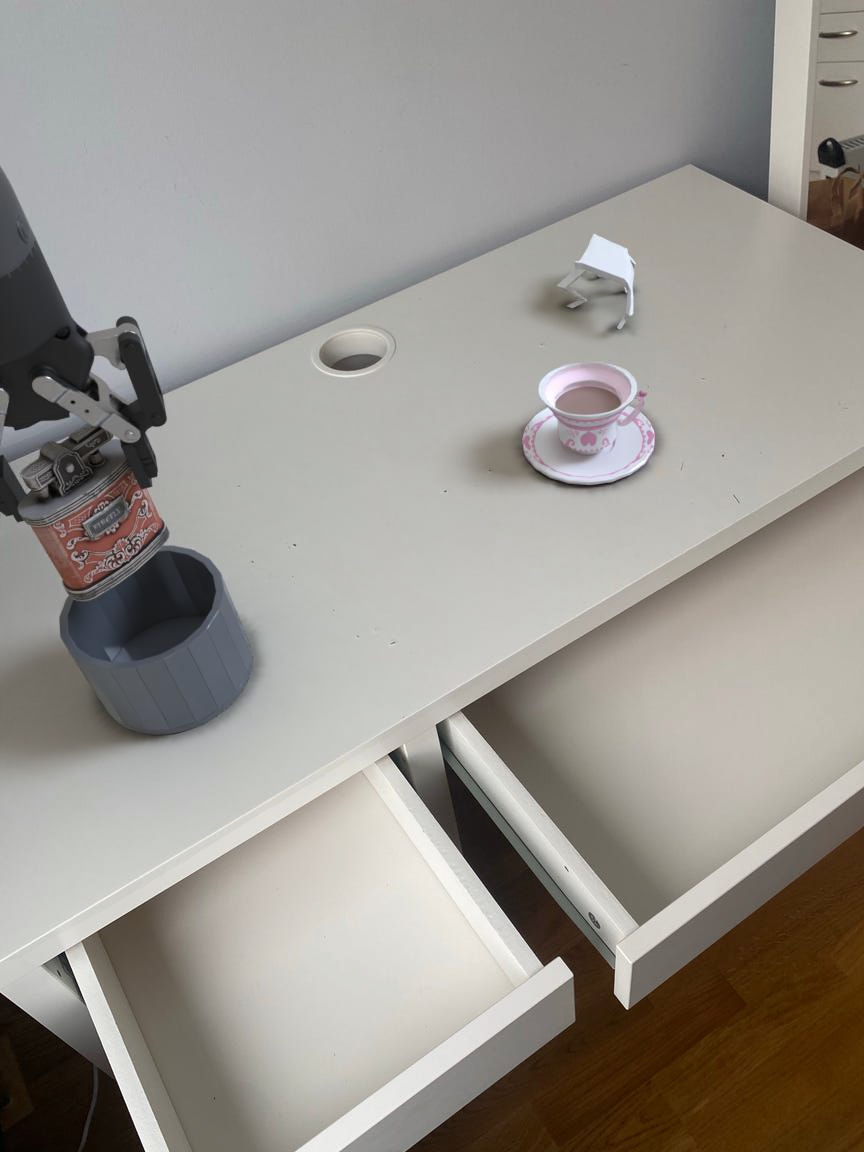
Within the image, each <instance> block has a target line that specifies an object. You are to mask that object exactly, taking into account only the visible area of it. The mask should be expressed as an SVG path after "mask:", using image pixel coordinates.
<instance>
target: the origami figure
mask: <svg viewBox="0 0 864 1152" xmlns="http://www.w3.org/2000/svg"><path fill="white" fill-rule="evenodd" d="M573 264H574V267H575V269H573V270H572V271H571V272H570V273H569V274H567V275H566V276H565V277H564V278H563V279H562V280H561V281H559V283H558V284H556V287H557V288H560V289H562V290H563V291H565V292H567V293H569V294H571V295H572V296H574V297H576V298H577V299H578V300H575V301H574V302H571V303H569V304H567V305H566V307H567V308H570V309H574V308H576V307H578V306H580V305H582V304H584V303H586V302H588V299H587V298H585V297H584V296H583V295H581V294H580V293H579V292H577V291H576V290H575V289H574V288H572V287H570V286H571V285H572V284H573V283H575V282H576V281H577V280H578V279H580V278H581V277H582V276H583V275H584V274H586V273H587V272H589V273H591V274H594V275H596V276H597V277H598V278H605V279H607V280H610V281H612V282H614V283H618V284H620V285H621V288H622V291H623V292H624V293H626V294H627V296H626V297H627V299H626V308H625V309H626V310H625V312H626V313H625V314H624V316H623V318H622V319H621V320H620V322H618V325H617V326H616V329H618V330H621V329H623V327H624V326H625V323H626V322H627V320H628V318H630V317H631V316H632V315H634V278H635V268H636V266H637V263H636V261H635V260H634V259H633V258H632V257H631V255H630V254H629V249H628V247H625V246H622V245H620V244H617V243H615V242H612V241H611V240H608V239H606V238H604V237H601V236H599V235H598V234H596V233H593V234H592V237H591V239H590V241H589V244H588V246H587V248H586V250H585V251H584V253H583V254H582V256H581V258H580V259H579V260H575V261H573ZM626 287H627V288H626Z"/></svg>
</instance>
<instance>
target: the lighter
mask: <svg viewBox="0 0 864 1152" xmlns="http://www.w3.org/2000/svg"><path fill="white" fill-rule="evenodd" d="M114 437H115V436H114V435H113V434H111V433H110V432H108V431H107V430H105V429H103V428H102V427H93V426H91V425H90V424H88V423H87V422H86V423H85V424H83V425H82V426H81V427H80V428H78V429H76V430H74V431H73V432H71V433H70V434H69V435H68V437H67V438H66V439H64V440H63V441H61V442H56V441H55V440H54V441H53V440H51V441H47V442H46V443H44V444H43V445H42V446H41V447H40V450H39V456H38V458H36V459H35V460H33V461H32V462H30V463H29V464H28V465H26V466H25V467H23V468H22V469H21V470H20V472H19V475H20V477H21V479H22V481H23V482H24V485H25V486H26V487H27V489H29V492H28V493H26V494H27V495H25V496H24V497H23V498H22V499H21V501H20V502H19V503H18V507H17V508H18V512H19V514H20V515H21V517H22V519H23V520H24V521H23V522H24V523H25V524H26V525H28V526H30V528H31V529H32V531H33V533H34V534H35V536H36V538H37V539H38V541H39V543H40V544H41V546H42V548H43V549H44V551H45V553H46V554H47V556H48V558H49V559H50V561H51V563H52V564H53V566H54V568H55V570H56V571H57V573H58V574H59V576H60V578H61V584H62V587H63V588H64V590H65V591H66V593H67V595H68V596H70V597H71V598H72V599H74V600H77V601H88V600H91V599H94V598H96V597H97V596H99V595H101V594H102V593H104V592H106V591H107V590H109V589H111V588H112V587H114V586H116V585H117V584H119V583H120V582H121V581H123V580H124V579H126V578H127V577H128V576H130V575H131V574H133V573H134V572H135V571H137V570H138V569H139V568H140V567H141V566H142V565H143V564H144V563H146V562H147V561H148V560H149V559H150V558H151V557H152V556H153V555H154V554H155V553H156V552H157V551H158V550H159V549H160V548H161V547H162V546H165V544H166V542H167V541H168V540H169V539H170V533H171V532H170V531H169V527H168V526H167V523H166V521H165V519H163V518H162V517H161V516H160V514H159V512H158V510H157V508H156V505H155V503H154V501H153V499H152V496H151V494H150V492H149V490H148V488H146V489H142V490H141V488H140V486H139V484H138V482H137V480H136V478H135V476H134V474H133V471H132V469H131V467H130V465H129V463H128V461H127V458H126V456H125V454H124V452H123V450H122V448H121V443H120V439H119V438H114Z"/></svg>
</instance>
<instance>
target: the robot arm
mask: <svg viewBox="0 0 864 1152" xmlns="http://www.w3.org/2000/svg"><path fill="white" fill-rule="evenodd" d="M97 356H98V357H99V356H100V357H104V358H105V359H106V360H108V362H109V363H110V365H111V366H112V367H113V368H116V369H118V370H119V371H125V370H126V372H127V375H128V377H129V380H130V382H131V386H132V388H133V390H134V393H135V395H136V398H137V399H135V400H134V401H132V402H130V401H128V400H126V399H125V398H124V397H122V396H120V395H119V394H118V393H116V392H115V391H113V390H112V389H111V388H110V386H109V385H108V383H107V382H106V381H105V380H104V379H102V378H101V377H99V376H98V375H97V374H95V373H94V372H92V371H91V370H92V367H93V365H94V362H95V357H97ZM164 399H165V398H164V393H163V391H162V389H161V385H160V383H159V379H158V377H157V373H156V371H155V368H154V365H153V362H152V359H151V357H150V354H149V351H148V349H147V346H146V343H145V339H144V337H143V333H142V332H141V329H140V326H139V323H138V321H137V320H136V319H135V318H134V317H133V316H130V315H123V316H120V317H119V318H118V319H117V320H116V321H115V327H111V328H107V329H102V330H96V331H92V332H88V331H87V330H86V329H85V328H84V327H82V326H80V325H79V324H78V322H77V321H75V319H74V318H73V316H72V315H71V312H70V311H69V309H68V306H67V304H66V301H65V300H64V297H63V295H62V293H61V291H60V289H59V286H58V285H57V282H56V280H55V278H54V276H53V273H52V271H51V269H50V267H49V264H48V262H47V260H46V258H45V255H44V253H43V251H42V248H41V247H40V244H39V242H38V240H37V238H36V236H35V234H34V231H33V229H32V226H31V225H30V223H29V220H28V218H27V216H26V213H25V211H24V210H23V208H22V205H21V203H20V200H19V198H18V196H17V194H16V192H15V190H14V187H13V185H12V183H11V182H10V179H9V178H8V176H7V174H6V173H5V171H4V169H3V168H2V166H1V165H0V446H1V444H2V438H3V433H4V427H5V428H13V430H14V431H15V432H16V431H17V432H18V431H20V430H24V429H29V428H30V427H33V426H34V425H36V424H38V423H41V422H54V421H55V422H56V421H60V420H64V419H68V418H71V415H70V414H73V415H74V416H76V417H78V418H79V419H80V420H82V421H84V422H85V423H86V424H87V423H88V424H90V425H91V426H93V427H102V428H103V429H105V430H107V431H108V432H110V433H111V434H113V436H114V437H116V439H120V443H121V448H122V450H123V452H124V454H125V456H126V458H127V461H128V463H129V465H130V467H131V469H132V471H133V474H134V476H135V478H136V480H137V482H138V484H139V486H140V488H141V490H142V489H146V488H147V489H150V488H153V486H154V485H153V479H154V478H157V477H158V475H159V473H158V472H159V468H158V462H157V456H156V453H155V451H154V448H153V446H152V445H151V442H150V439H149V437H148V435H147V431H148V430H149V429H151V428H153V427H154V428H159V427H163V426H164V425H165V424H166V423H167V421H168V416H167V411H166V405H165V400H164ZM27 494H28V493H26V491H25V490H24V487H23V486H22V484H21V483H20V481H19V479H18V477H17V475H16V474H15V472H14V470H13V469H12V467H11V466H10V464H9V462H8V460H7V458H6V457H5V455H4V454H0V514H3V515H4V516H5V517H10V516H13V518H14V519H15V521H16V522H17V523H21V522H24V520H23V519H22V517H21V515H20V514H19V512H18V508H17V507H18V503H19V502H20V501H21V499H22V498H23V497H24V496H25V495H27Z"/></svg>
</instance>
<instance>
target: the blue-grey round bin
mask: <svg viewBox="0 0 864 1152" xmlns="http://www.w3.org/2000/svg"><path fill="white" fill-rule="evenodd" d="M63 603H64V604H63V606H62V609H61V611H60V613H59V614H60V615H59V621H58V622H59V636H60V639H61V641H62V642H63V644H64V646H65V648H66V649H67V651H68V653H69V655H70V656H71V657H72V659H73V660H74V662H75V664H76V665H77V667H78V668H79V670H80V672H81V673H82V675H83V676H84V678H85V679H86V680H87V682H88V684H89V685H90V687H91V688H92V690H93V692H94V693H95V695H96V696H97V698H98V699H99V700H100V702H101V703H102V705H103V707H104V708H105V710H106V712H107V713H108V714H109V715H110V716H111V717H112V718H113V720H115V722H117V723H118V724H119V725H121V726H123V727H124V728H126V729H128V730H131V731H134V732H136V733H140V734H145V735H154V736H157V735H172V734H178V733H182V732H186V731H189V730H192V729H195V728H197V727H199V726H202V725H203V724H206V723H209V721H212V720H213V719H214V718H217V717H218V716H219V715H220V714H221V713H223V712H224V711H225V710H226V709H227V708H229V707H230V706H232V704H233V703H234V702H235V701H236V699H237V698H238V697H239V696H240V694H241V693H242V692H243V690H244V688H245V687H246V685H247V683H248V681H249V678H250V675H251V671H252V667H253V651H252V647H251V644H250V642H249V637H248V634H247V633H246V630H245V628H244V625H243V623H242V620H241V618H240V616H239V613H238V611H237V608H236V606H235V604H234V601H233V598H232V596H231V594H230V592H229V589H228V587H227V584H226V582H225V579H224V577H223V575H222V572H221V571H220V570H219V568H218V567H217V566H216V564H215V563H214V562H213V561H212V559H211V558H210V557H208V556H205V555H203V554H202V553H200V552H198V551H196V549H195V550H194V549H192V548H188V547H182V546H176V545H174V544H173V545H167V544H166V545H163V546H162V547H161V548H160V549H159V550H158V551H157V552H156V553H155V554H154V555H153V556H152V557H151V558H150V559H149V560H148V561H147V562H146V563H144V564H143V565H142V566H141V567H140V568H139V569H138V570H137V571H135V572H134V573H133V574H131V575H130V576H128V577H127V578H126V579H124V580H123V581H121V582H120V583H119V584H117V585H116V586H114V587H112V588H111V589H109V590H107V591H106V592H104V593H102V594H101V595H99V596H97V597H96V598H94V599H91V600H88V601H77V600H74V599H72V598H71V597H70V596H69V595H68V596H67V597H66V599H65V601H64V602H63Z"/></svg>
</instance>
